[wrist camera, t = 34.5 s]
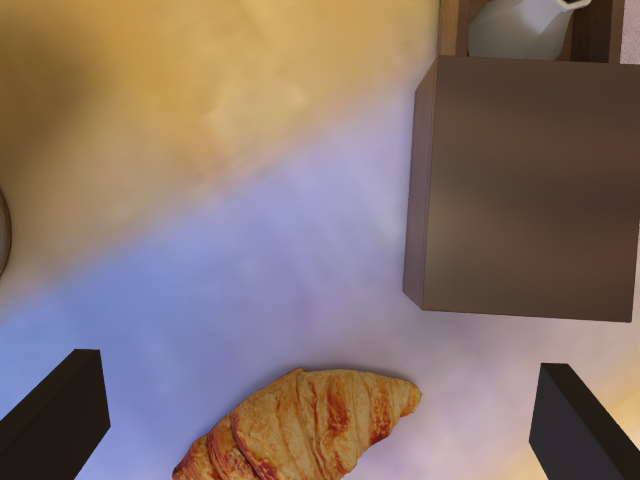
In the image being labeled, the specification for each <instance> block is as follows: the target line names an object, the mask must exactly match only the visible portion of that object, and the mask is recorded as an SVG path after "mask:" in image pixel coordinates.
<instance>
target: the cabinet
mask: <svg viewBox="0 0 640 480" xmlns="http://www.w3.org/2000/svg"><path fill="white" fill-rule="evenodd" d="M639 222H640V65H636V64H615V63H594V62H574V61H553V60H533V59H512V58H491V57H471V56H450V55H438V56H437V58H436V60H435V61H434V63H433V64H432V66H431V67H430V69H429V70H428V72H427V74H426V75H425V77H424V78H423V80H422V82H421V83H420V85H419V86H418V88H417V90H416V91H415V103H414V118H413V134H412V150H411V166H410V182H409V198H408V214H407V229H406V245H405V261H404V277H403V292H404V293H405V294H406V295H407V296H408V297H409V298H410V299H411V300H412V301H413V302H414V303H415V304H416V305H417V306H418V307H419V308H420V309H421V310H427V311H443V312H460V313H476V314H493V315H510V316H526V317H543V318H559V319H576V320H593V321H609V322H626V323H631V321H632V309H633V296H634V284H635V271H636V259H637V247H638V234H639Z"/></svg>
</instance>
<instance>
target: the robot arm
mask: <svg viewBox="0 0 640 480" xmlns="http://www.w3.org/2000/svg"><path fill="white" fill-rule="evenodd" d="M10 239H11V227H10V219H9V214H8V210H7V206H6V203H5V201H4V198H3V196H2V194H1V192H0V275H1V273H2V271H3V269H4V266H5V264H6V261H7V257H8V254H9V248H10ZM110 427H111V425H110V418H109V411H108V404H107V397H106V390H105V383H104V376H103V369H102V362H101V355H100V350H93V349H74V350H73V351H72V352H71V353H70V354H69V355H68V356H67V357H66V358H65V359H64V360H63V361H62V362H61V363H60V364H59V365H58V366H57V367H56V368H55V369H54V370H53V371H52V372H51V373H50V374H49V375H48V376H46V377H45V378H44V379H43V380H42V381H41V382H40V383H39V384H38V385H37V386H36V387H35V388H34V389H33V390H32V391H31V392H30V393H29V394H28V395H27V396H26V397H25V398H24V399H23V400H22V401H21V402H20V403H18V404H17V405H16V406H15V407H14V408H13V409H12V410H11V411H10V412H9V413H8V414H7V415H6V416H5V417H4V418H3V419H2V420H1V421H0V480H74V479H75V477H76V476H77V474H78V473H79V472H80V470H81V469H82V467H83V466H84V464H85V463H86V461H87V460H88V459H89V457H90V456H91V454H92V453H93V451H94V450H95V448H96V447H97V446H98V444H99V443H100V441H101V440H102V438H103V437H104V435H105V434H106V433H107V431H108V430H109V428H110ZM529 443H530V445H531V447H532V449H533V451H534V453H535V455H536V457H537V459H538V461H539V462H540V464H541V466H542V468H543V470H544V472H545V474H546V476H547V478H548V479H549V480H640V451H639V450H638V448H637V447H636V446H635V445H634V443H633V442H632V441H631V440H630V439H629V437H628V436H627V435H626V434H625V432H624V431H623V430H622V429H621V428H620V426H619V425H618V424H617V423H616V422H615V420H614V419H613V418H612V417H611V415H610V414H609V413H608V412H607V411H606V409H605V408H604V407H603V406H602V404H601V403H600V402H599V401H598V400H597V398H596V397H595V396H594V395H593V394H592V392H591V391H590V390H589V389H588V387H587V386H586V385H585V384H584V383H583V381H582V380H581V379H580V378H579V376H578V375H577V374H576V373H575V372H574V370H573V369H572V368H571V367H570V366H569V364H560V363H541V367H540V374H539V380H538V386H537V393H536V399H535V405H534V411H533V418H532V424H531V430H530V436H529Z"/></svg>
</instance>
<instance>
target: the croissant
mask: <svg viewBox="0 0 640 480" xmlns="http://www.w3.org/2000/svg"><path fill="white" fill-rule="evenodd" d="M421 397H422V393H421V392H420V391H419V389H418V387H416V386H415V385H414V384H412V383H410V382H408V381H403V380H401V379H397V378H391V377H385V376H381V375H378V374H376V373H371V372H358V371H357V370H353V369H351V370H344V369H333V370H325V371H314V372H308V373H307V371H306V370H305V369H304V368H297V369H294V370H293V371H291V372H289V373H287V374H286V375H284V376H282V377H280V378H278V379H277V380H275V381H273V382H272V383H270V384H269V385H268V386H266V387H264V388H262V389H260V390H258V391H256V392H255V393H253V394H252V395H250V396H249V397H248V398H247V399H245V400H244V401H243V402H242V403H240V404H239V405H238V406H237V407H236V408H235V409H234V410H233V411H231V412H230V413H229V414H228V415H226V416H225V417H223V418H222V419H221V420H220V421H219V422H218V423H217V424H216V425H215V427H214V428H213V429H212V430H211V431H210V432H209V433H208V434H206V435H204V436H202V437H200V438H199V439H198V440H196V441H195V442H194V443H193V444H192V445H191V447H190V449H189V450H188V452H187V454H186V455H185V457H184V458H183V459H182V461H181V462H180V463H179V464H178V465H177V466H176V467H175V468H174V470H173V474H172V479H173V480H340V479H341V478H342V477H344V475H345V474H347V473H350V472H351V471H352V470H353V469H354V468H355V466H356V464H357V459H358V458H360V457H361V455H362V453H363V452H364V451H366V450H367V449H368V448H369V447H370V446H372V445H373V444H375V443H377V442H379V441H381V440H382V439H384V438H386V437H388V436H389V435H390V433H391V431H392V429H393V427H394V426H395V425H396V424H397V423H398V422H399V420H400V418H401V417H404V416H406V415H409V414H410V413H413V412H414V411H415V409H416V407H417V406H418V404H419V402H420V399H421Z"/></svg>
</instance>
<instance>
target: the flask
mask: <svg viewBox="0 0 640 480" xmlns="http://www.w3.org/2000/svg"><path fill="white" fill-rule="evenodd" d="M590 2H591V0H494V1H491V2H488V3H487V4H486V5H485V6H484V8H483V9H482V10H481V11H480V13H479V14H478V15H477V16H476V18H475V19H474V20H473V21H472V23H471V24H470V25H469V34H468V52H469V56H471V57H491V58H512V59H533V60H553V61H554V60H555V59H556V58H557V57H558V55H559V54H560V53H561V51H562V47H563V43H564V38H565V33H566V30H567V27H568V23H569V20H570V17H571V14H572V13H573V11H574V10H575V9H578V8H582V7H585V6H587V5H588V4H589V3H590Z"/></svg>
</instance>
